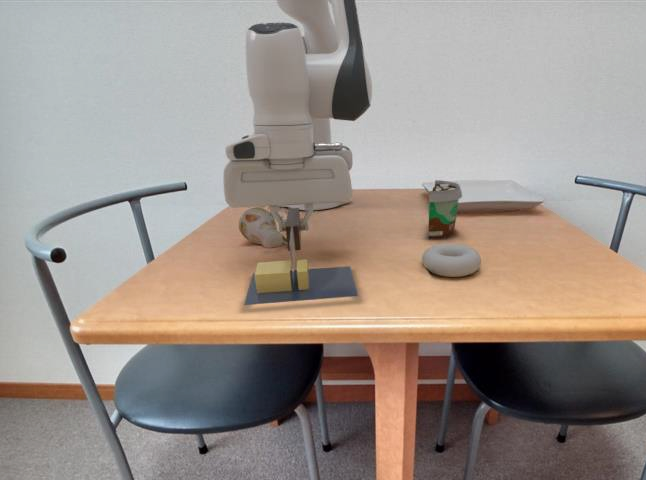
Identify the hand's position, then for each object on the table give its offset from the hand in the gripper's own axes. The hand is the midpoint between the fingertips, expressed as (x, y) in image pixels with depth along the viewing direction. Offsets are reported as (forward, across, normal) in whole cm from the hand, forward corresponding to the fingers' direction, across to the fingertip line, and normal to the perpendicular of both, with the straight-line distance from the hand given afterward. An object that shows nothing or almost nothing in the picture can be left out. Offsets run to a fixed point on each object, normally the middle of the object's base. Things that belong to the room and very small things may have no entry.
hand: (294, 230), depth 73 cm
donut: (+7, -26, +6) cm, 28 cm away
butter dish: (+6, -1, +10) cm, 12 cm away
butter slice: (+6, -1, +10) cm, 12 cm away
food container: (+7, -31, -14) cm, 34 cm away
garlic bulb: (+7, +6, -13) cm, 15 cm away
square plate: (+6, -47, -38) cm, 61 cm away
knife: (+2, 0, +5) cm, 5 cm away
